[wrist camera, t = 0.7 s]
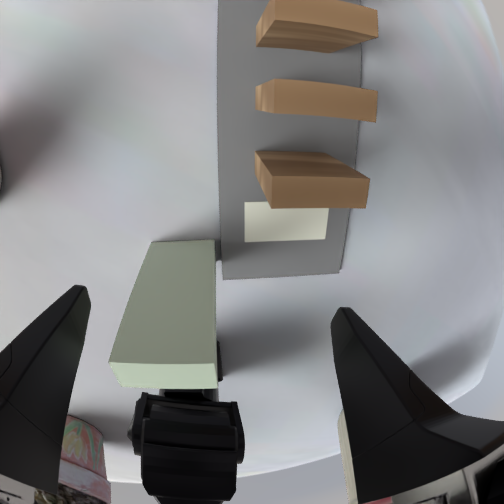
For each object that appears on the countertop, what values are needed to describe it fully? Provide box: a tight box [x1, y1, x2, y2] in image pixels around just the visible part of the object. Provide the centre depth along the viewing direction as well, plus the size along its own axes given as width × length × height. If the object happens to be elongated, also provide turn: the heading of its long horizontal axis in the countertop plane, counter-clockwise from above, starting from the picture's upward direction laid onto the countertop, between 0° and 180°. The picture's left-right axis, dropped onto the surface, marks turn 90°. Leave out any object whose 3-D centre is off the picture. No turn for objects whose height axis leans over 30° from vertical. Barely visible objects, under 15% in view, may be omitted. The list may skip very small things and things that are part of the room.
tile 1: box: [109, 239, 218, 389], centre depth 18 cm, size 2×5×12 cm, turn 90°
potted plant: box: [34, 415, 111, 504], centre depth 27 cm, size 18×20×25 cm
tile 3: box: [255, 79, 378, 123], centre depth 15 cm, size 2×5×7 cm, turn 90°
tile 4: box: [255, 151, 370, 209], centre depth 17 cm, size 2×5×7 cm, turn 90°
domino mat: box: [217, 0, 361, 280], centre depth 18 cm, size 28×10×1 cm, turn 0°
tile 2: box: [256, 0, 378, 54], centre depth 12 cm, size 2×5×7 cm, turn 90°
